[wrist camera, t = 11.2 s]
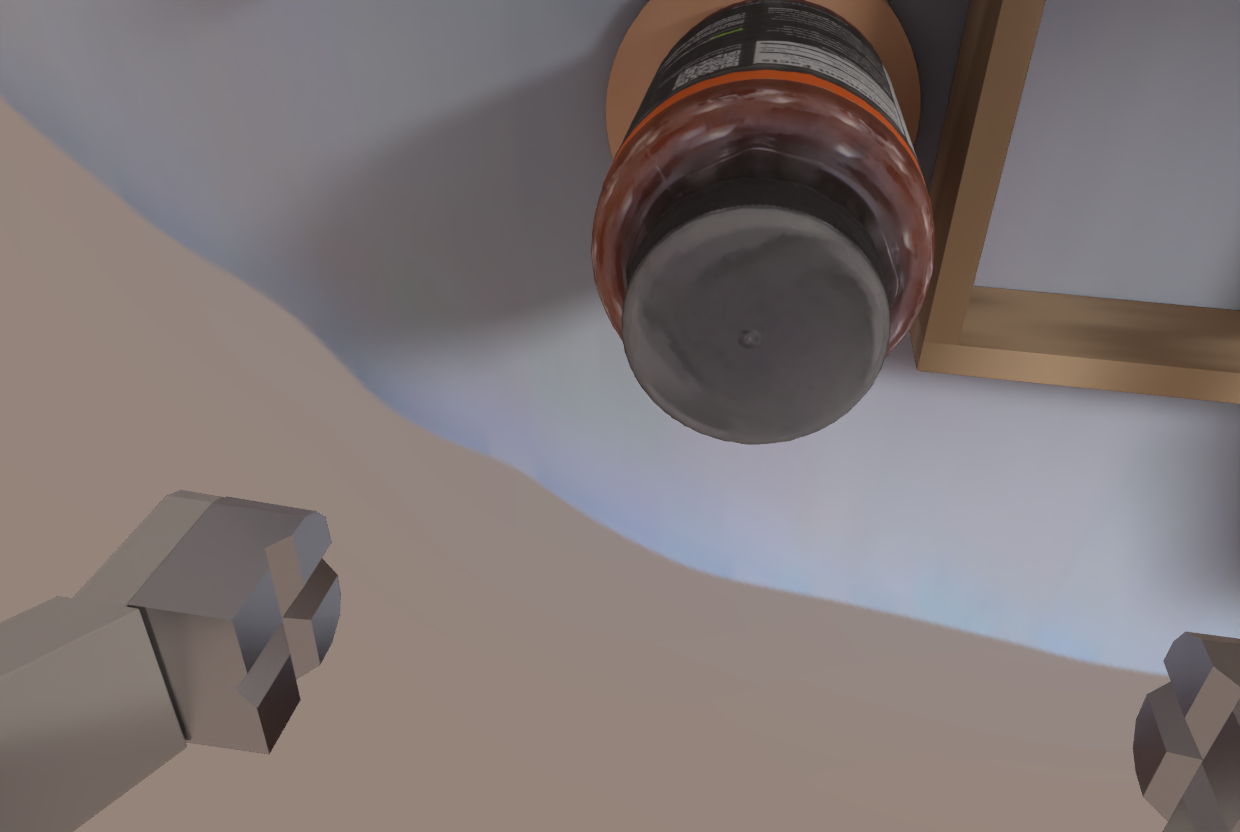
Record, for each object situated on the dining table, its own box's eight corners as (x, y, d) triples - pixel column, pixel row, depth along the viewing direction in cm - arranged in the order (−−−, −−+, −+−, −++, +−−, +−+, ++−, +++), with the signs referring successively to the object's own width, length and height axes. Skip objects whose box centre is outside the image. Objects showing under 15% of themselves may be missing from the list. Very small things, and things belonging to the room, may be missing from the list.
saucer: (947, -48, 22) (952, -42, 21) (886, 264, 26) (888, 276, 25) (614, -66, 23) (609, -61, 22) (607, 238, 27) (602, 250, 26)
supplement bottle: (779, 278, 26) (766, 559, 16) (601, 138, 25) (477, 357, 15) (950, 101, 23) (1053, 324, 13) (756, -71, 21) (720, 44, 12)
